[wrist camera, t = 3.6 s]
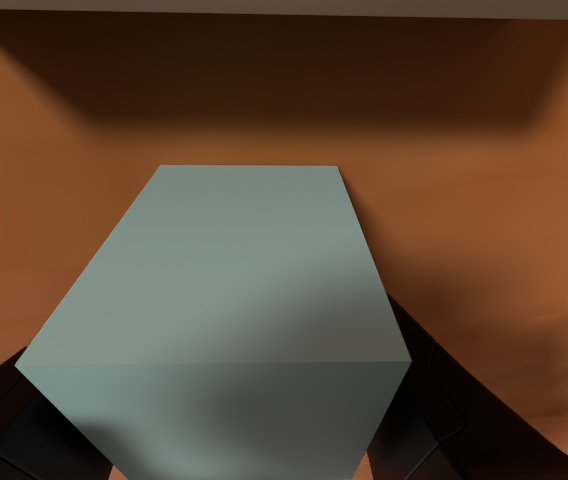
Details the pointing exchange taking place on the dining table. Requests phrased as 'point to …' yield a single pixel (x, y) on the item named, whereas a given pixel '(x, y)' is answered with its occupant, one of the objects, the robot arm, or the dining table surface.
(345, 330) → the sage block
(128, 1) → the grayish brown panel
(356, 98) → the dining table surface
